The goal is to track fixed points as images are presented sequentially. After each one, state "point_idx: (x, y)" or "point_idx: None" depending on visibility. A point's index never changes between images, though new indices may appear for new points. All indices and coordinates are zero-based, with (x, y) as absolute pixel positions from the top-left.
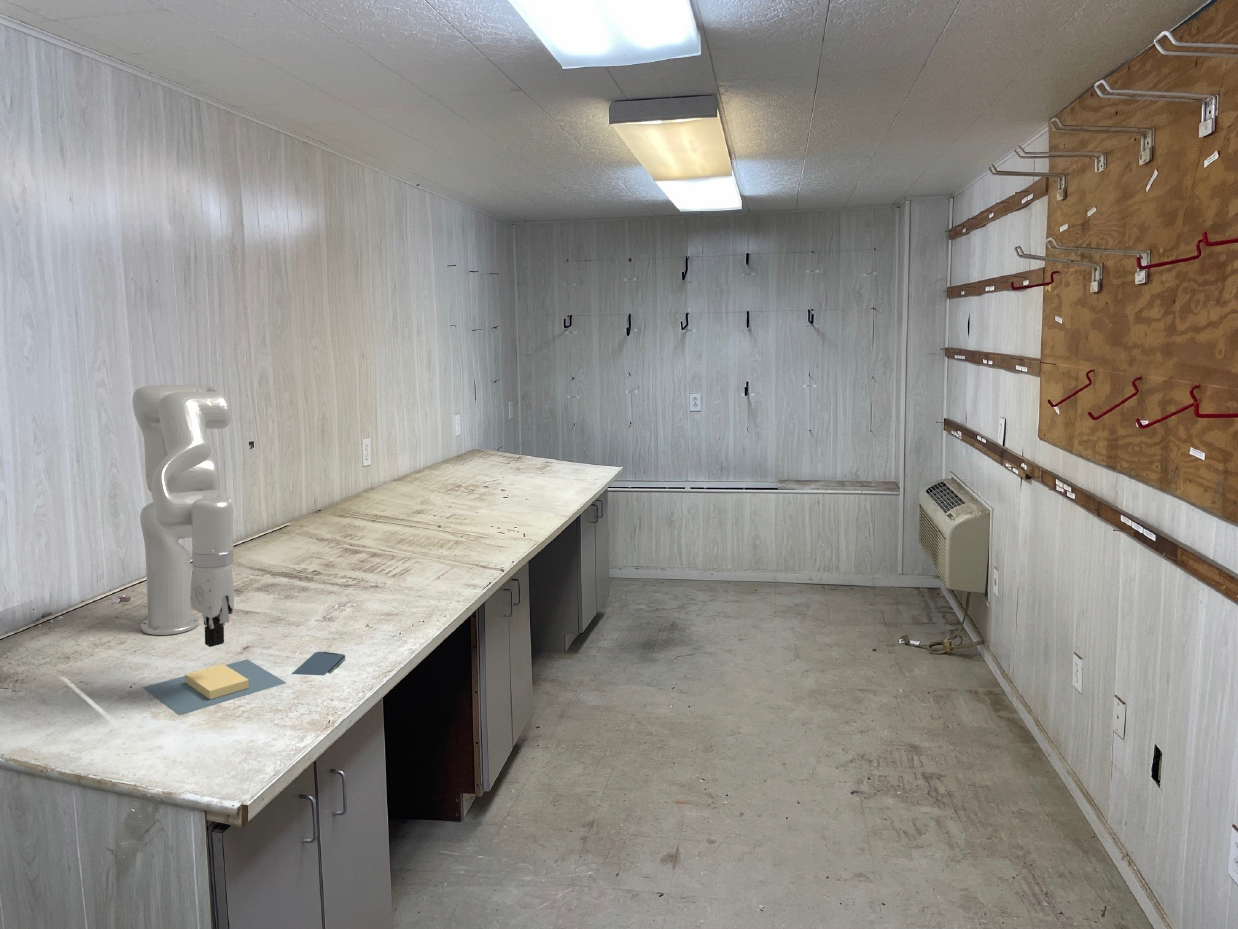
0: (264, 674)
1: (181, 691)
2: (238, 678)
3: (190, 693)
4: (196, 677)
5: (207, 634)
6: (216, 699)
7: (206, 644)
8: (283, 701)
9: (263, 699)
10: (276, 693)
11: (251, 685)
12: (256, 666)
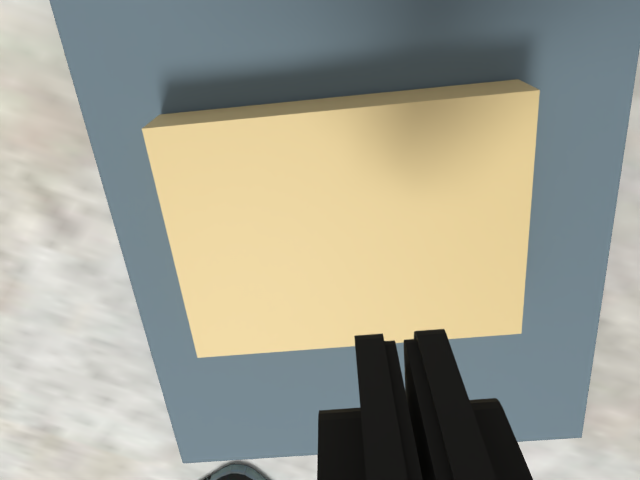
0: None
1: (400, 9)
2: (247, 325)
3: (331, 48)
4: (427, 135)
5: (389, 440)
6: None
7: (416, 335)
8: (28, 387)
9: (93, 334)
10: (134, 395)
11: None
12: None
